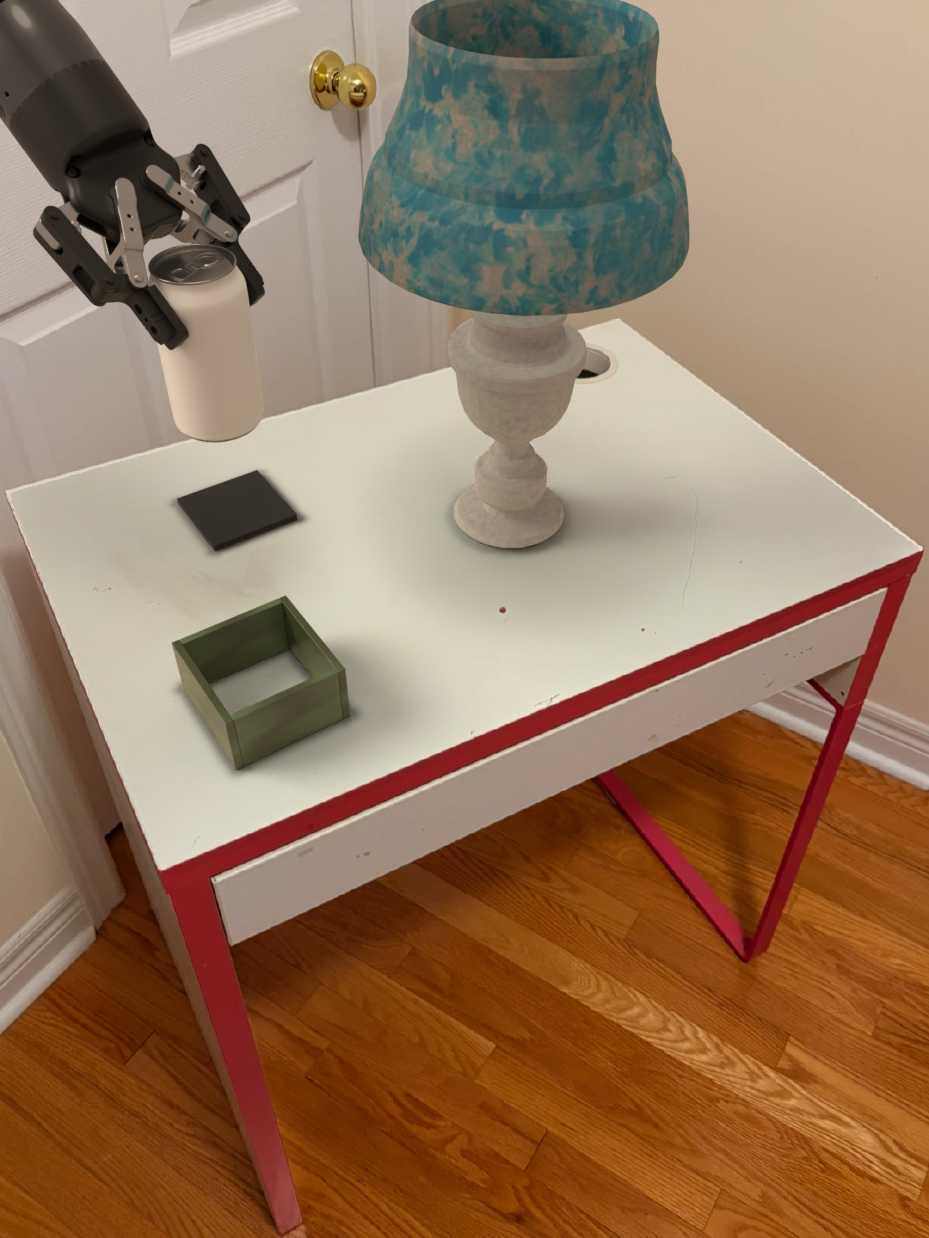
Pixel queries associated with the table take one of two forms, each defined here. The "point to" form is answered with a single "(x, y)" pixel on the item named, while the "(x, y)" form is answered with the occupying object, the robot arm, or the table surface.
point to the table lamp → (525, 214)
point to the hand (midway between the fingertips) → (219, 321)
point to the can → (209, 343)
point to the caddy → (280, 713)
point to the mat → (236, 509)
